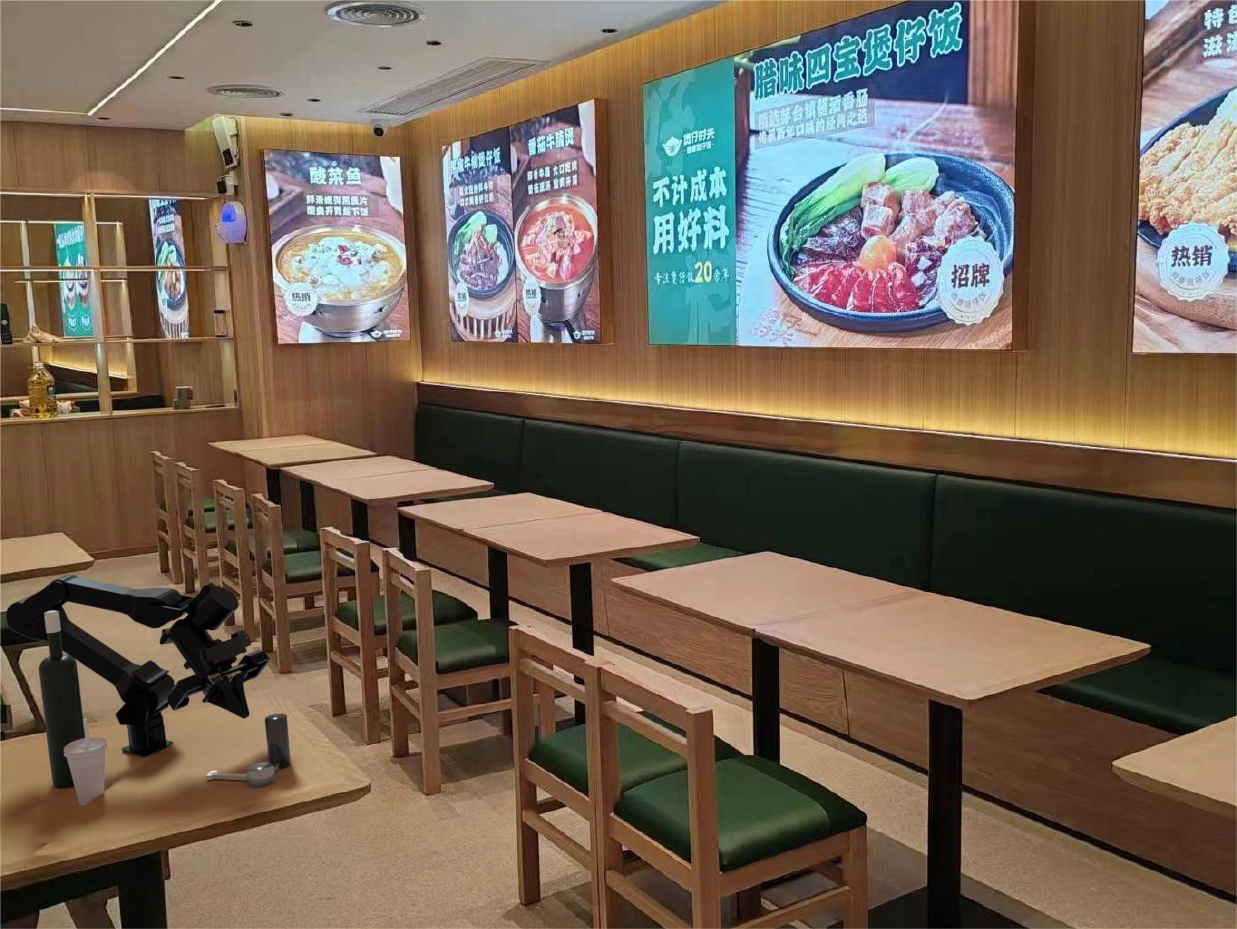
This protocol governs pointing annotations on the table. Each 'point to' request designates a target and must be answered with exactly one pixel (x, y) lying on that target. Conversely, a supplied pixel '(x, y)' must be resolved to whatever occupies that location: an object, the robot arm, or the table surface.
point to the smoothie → (87, 765)
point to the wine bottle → (60, 702)
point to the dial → (277, 755)
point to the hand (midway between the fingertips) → (246, 716)
